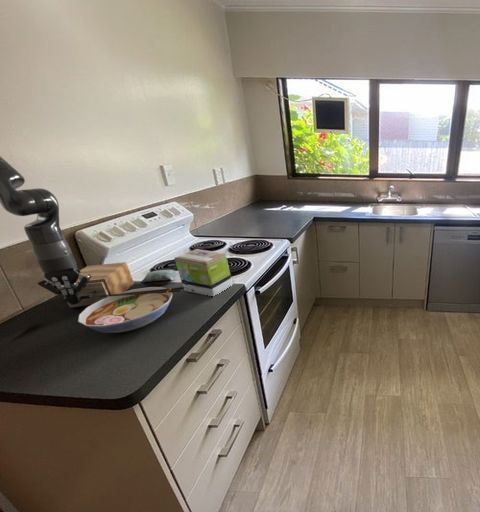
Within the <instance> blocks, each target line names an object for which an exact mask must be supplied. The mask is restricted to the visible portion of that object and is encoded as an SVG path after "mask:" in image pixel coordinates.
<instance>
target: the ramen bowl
mask: <svg viewBox="0 0 480 512" xmlns="http://www.w3.org/2000/svg"><path fill="white" fill-rule="evenodd" d="M183 290H184V287H183V286H178V287H170V288H166V287H163V286H160V287H159V286H149V287H140V288H134V289H130V290H127V291H125V292H122V293H118V294H111V296H110V297H108V296H109V295H102V296H99V297H107V298H105V299H102V300H100V301H98V302H96V303H94V304H92V305H89V306H86V307H85V308H84V310H83V311H81V312H80V313H79V314H78V318H77V319H78V320H77V322H78V323H80V324H81V325H83V326H85V327H87V328H89V329H91V330H94V331H95V332H99V333H111V334H119V333H124V332H125V333H126V332H130V331H134V330H137V329H140V328H143V327H145V326H147V325H149V324H151V323H154V321H156V320H157V319H159V318H160V317H161V316H162V315H163V314H164V313H165V312H166V310H167V309H168V307H169V305H170V304H171V301H172V300H173V293H181V292H182V291H183Z"/></svg>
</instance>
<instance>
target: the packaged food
mask: <svg viewBox="0 0 480 512" xmlns="http://www.w3.org/2000/svg"><path fill="white" fill-rule="evenodd" d="M177 276H179V272H178V270H174V269H160V270H159V269H158V270H157V269H156V270H153V271H149V272H148V273H147V274H146V275H145V276H144V278H143V279H142V280H141V281H139V284H142V285H145V286H155V285H164V284H169V283H171V282H175V280H174V278H176V277H177Z"/></svg>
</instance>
